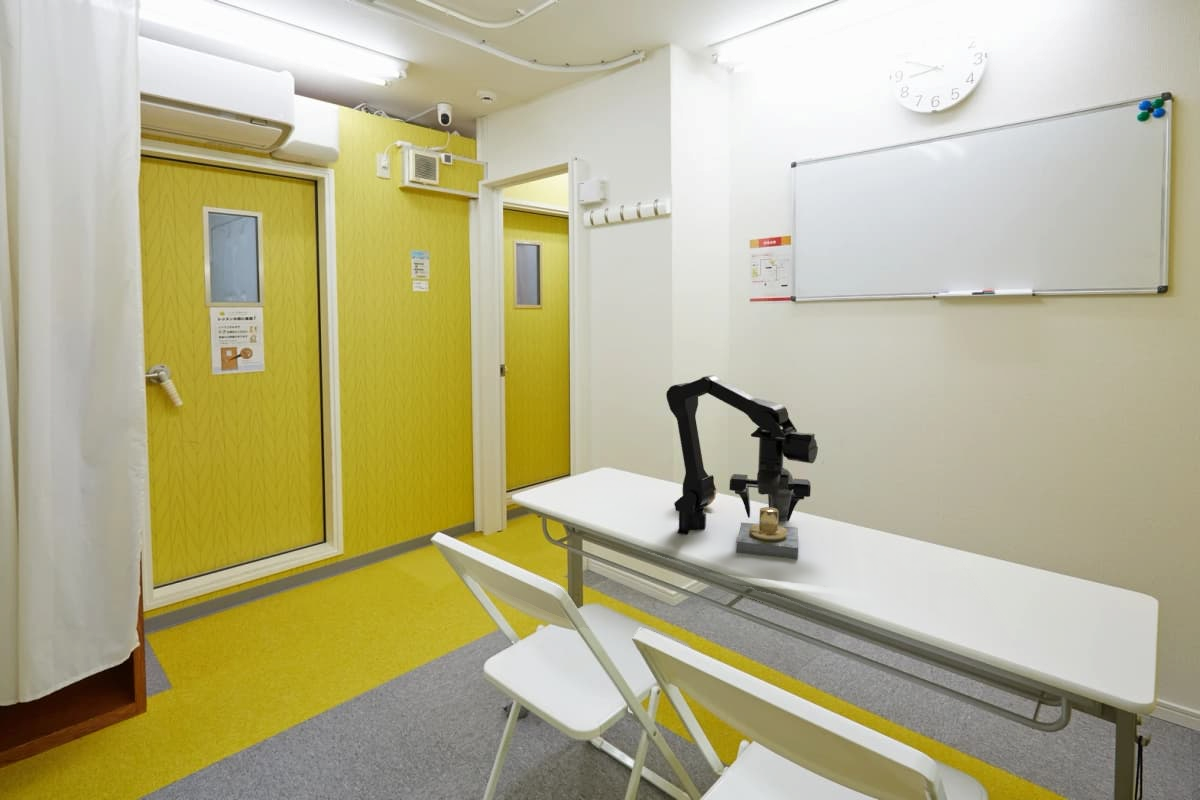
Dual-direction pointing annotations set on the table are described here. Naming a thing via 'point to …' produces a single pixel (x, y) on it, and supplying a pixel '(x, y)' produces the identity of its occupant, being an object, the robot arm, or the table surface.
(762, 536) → the end cover
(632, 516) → the table surface
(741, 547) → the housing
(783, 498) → the beverage cup
